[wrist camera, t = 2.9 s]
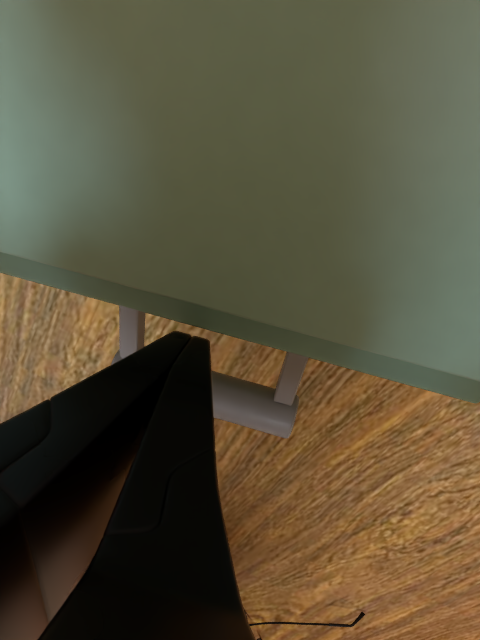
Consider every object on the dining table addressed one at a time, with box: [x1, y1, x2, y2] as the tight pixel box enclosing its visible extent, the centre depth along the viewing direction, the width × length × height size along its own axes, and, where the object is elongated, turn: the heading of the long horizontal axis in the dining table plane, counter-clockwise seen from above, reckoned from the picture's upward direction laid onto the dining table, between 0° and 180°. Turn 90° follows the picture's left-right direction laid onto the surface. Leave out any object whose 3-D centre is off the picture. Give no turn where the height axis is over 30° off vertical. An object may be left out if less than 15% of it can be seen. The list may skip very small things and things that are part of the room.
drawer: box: [0, 252, 480, 438], centre depth 10 cm, size 18×12×9 cm
